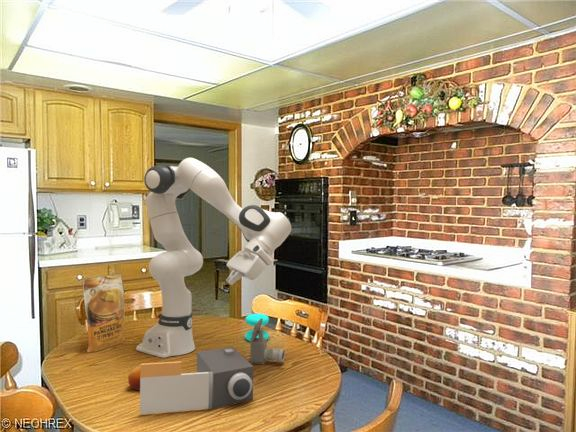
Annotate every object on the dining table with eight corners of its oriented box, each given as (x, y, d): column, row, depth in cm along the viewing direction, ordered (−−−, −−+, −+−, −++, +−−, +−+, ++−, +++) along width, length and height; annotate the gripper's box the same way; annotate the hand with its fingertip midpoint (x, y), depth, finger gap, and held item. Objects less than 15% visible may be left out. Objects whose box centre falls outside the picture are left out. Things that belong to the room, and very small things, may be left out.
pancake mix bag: (76, 351, 152) (77, 278, 151) (120, 337, 168) (121, 271, 167) (87, 355, 148) (87, 280, 147) (131, 341, 165) (131, 273, 164)
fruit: (143, 392, 118) (135, 366, 120) (129, 399, 122) (120, 373, 124) (165, 382, 125) (156, 357, 127) (150, 389, 128) (142, 365, 130)
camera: (280, 369, 140) (281, 327, 139) (248, 366, 142) (248, 324, 142) (285, 360, 148) (286, 320, 148) (255, 357, 150) (255, 317, 150)
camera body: (196, 382, 128) (197, 349, 128) (232, 375, 133) (232, 343, 133) (215, 413, 110) (216, 374, 109) (256, 403, 115) (256, 366, 115)
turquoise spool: (256, 320, 163) (240, 315, 170) (255, 345, 163) (240, 339, 170) (273, 316, 170) (258, 311, 177) (273, 339, 170) (257, 333, 177)
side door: (139, 414, 107) (140, 365, 107) (140, 412, 108) (140, 363, 108) (212, 408, 111) (212, 360, 111) (212, 406, 112) (212, 359, 112)
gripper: (239, 243, 144) (212, 271, 140) (262, 249, 126) (232, 282, 122) (250, 254, 146) (224, 283, 142) (275, 262, 128) (246, 295, 124)
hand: (228, 283), depth 132 cm, fingers closed
